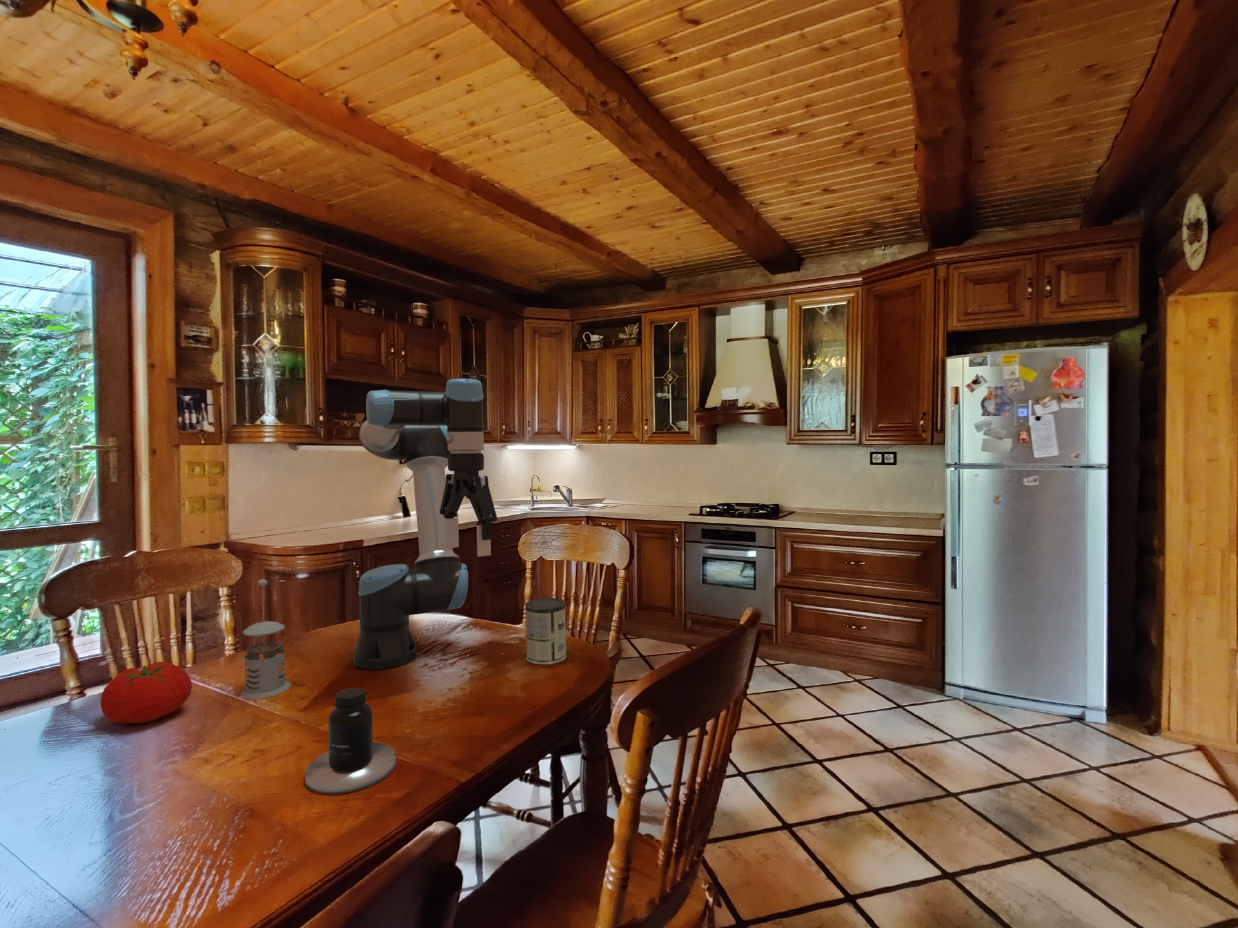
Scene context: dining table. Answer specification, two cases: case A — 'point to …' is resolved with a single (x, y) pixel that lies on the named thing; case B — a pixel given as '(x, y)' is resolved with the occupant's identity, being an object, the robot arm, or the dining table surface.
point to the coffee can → (546, 630)
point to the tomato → (145, 693)
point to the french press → (264, 660)
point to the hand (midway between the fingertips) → (467, 551)
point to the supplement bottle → (350, 731)
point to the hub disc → (335, 782)
